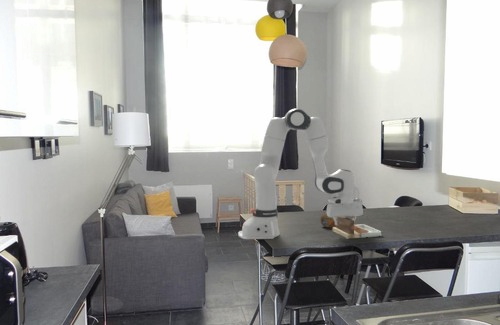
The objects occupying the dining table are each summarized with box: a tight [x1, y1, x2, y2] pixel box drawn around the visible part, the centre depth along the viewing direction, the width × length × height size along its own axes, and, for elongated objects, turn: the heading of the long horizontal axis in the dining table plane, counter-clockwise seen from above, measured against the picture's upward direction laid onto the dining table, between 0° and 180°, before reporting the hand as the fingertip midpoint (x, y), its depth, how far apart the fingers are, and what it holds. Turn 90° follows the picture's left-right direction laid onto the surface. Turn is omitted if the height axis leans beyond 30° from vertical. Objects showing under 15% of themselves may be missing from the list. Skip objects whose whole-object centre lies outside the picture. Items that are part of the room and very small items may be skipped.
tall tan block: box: [336, 216, 355, 234], centre depth 192 cm, size 3×14×7 cm, turn 14°
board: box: [332, 227, 362, 240], centre depth 193 cm, size 8×16×2 cm, turn 14°
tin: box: [319, 212, 336, 228], centre depth 211 cm, size 15×3×8 cm, turn 101°
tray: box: [354, 223, 383, 239], centre depth 195 cm, size 12×18×2 cm, turn 14°
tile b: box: [355, 226, 369, 233], centre depth 190 cm, size 5×5×2 cm
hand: (344, 224), depth 193 cm, fingers open, 8 cm apart
